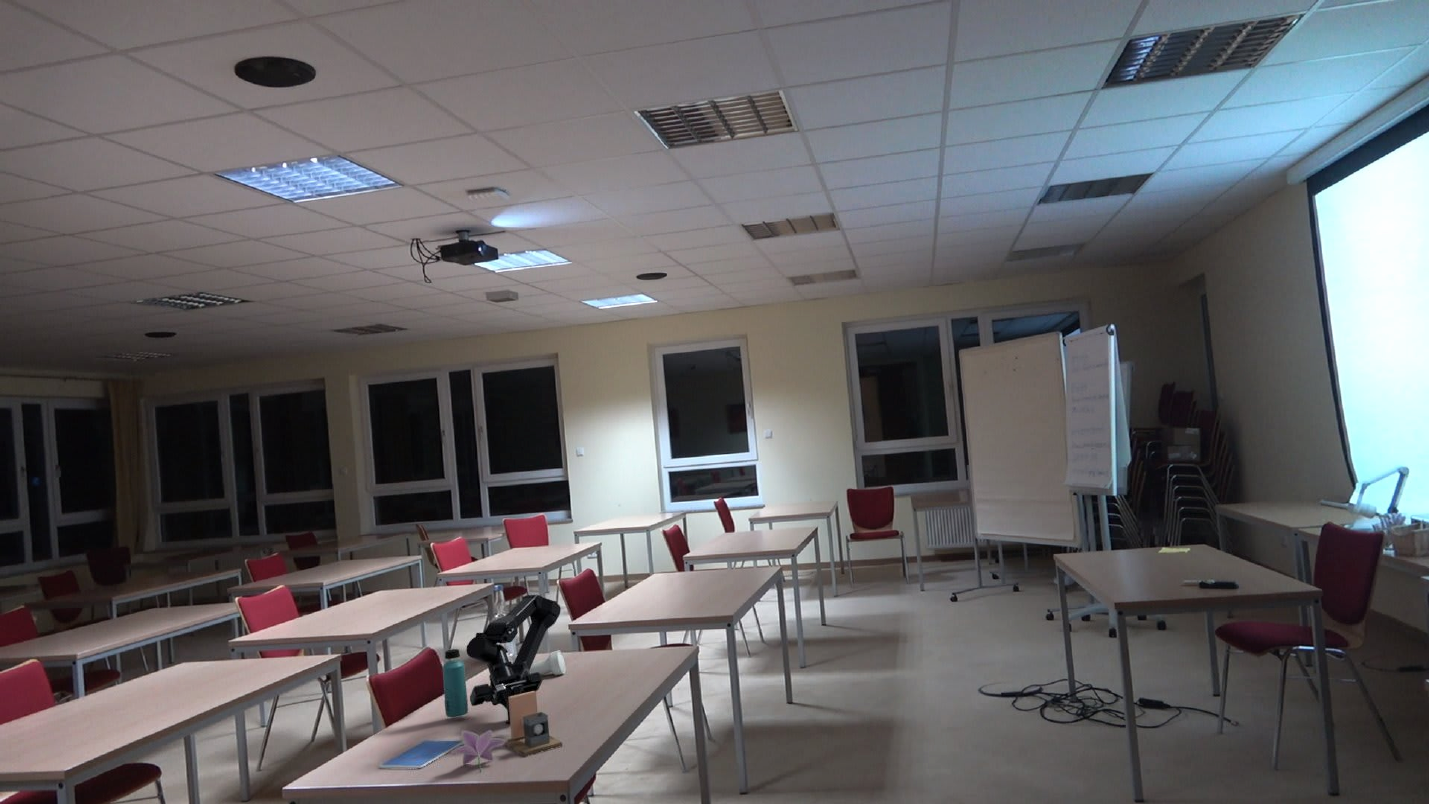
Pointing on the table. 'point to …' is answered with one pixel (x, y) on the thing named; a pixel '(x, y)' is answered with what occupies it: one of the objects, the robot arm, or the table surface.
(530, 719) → the charcoal metal brick
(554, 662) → the spotlight
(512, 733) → the salmon pink upright block
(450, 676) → the beverage bottle
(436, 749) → the tablet computer
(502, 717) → the table surface
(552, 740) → the tan board
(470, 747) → the lily
